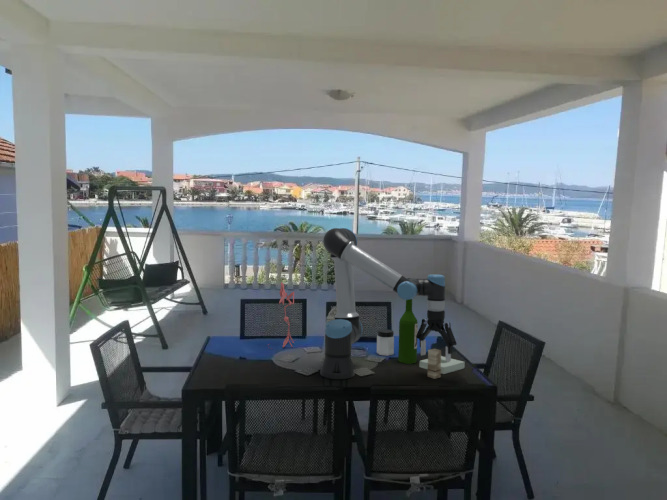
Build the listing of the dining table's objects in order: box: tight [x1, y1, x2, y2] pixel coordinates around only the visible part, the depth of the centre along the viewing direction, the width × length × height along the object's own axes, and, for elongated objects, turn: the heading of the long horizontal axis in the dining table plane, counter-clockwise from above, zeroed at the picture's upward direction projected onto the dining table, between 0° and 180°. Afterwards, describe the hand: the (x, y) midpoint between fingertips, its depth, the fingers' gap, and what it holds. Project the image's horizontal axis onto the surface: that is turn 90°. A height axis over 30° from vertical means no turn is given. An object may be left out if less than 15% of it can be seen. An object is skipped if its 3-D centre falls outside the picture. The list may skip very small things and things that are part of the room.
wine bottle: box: [397, 298, 419, 365], centre depth 239 cm, size 9×9×32 cm
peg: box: [426, 348, 442, 380], centre depth 214 cm, size 4×4×12 cm
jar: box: [376, 329, 395, 357], centre depth 253 cm, size 9×8×12 cm
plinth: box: [418, 355, 466, 375], centre depth 230 cm, size 16×14×3 cm
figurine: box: [267, 281, 297, 350], centre depth 266 cm, size 15×26×35 cm, turn 0°
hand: (435, 357), depth 214 cm, fingers open, 13 cm apart
